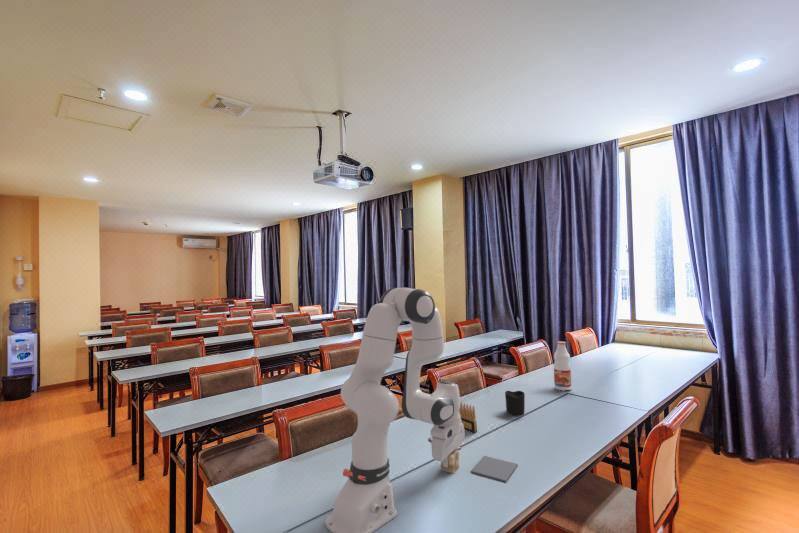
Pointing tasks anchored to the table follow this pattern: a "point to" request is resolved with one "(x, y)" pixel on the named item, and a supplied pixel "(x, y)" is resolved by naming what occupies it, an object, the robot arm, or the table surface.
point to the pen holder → (515, 402)
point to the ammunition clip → (468, 417)
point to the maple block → (452, 462)
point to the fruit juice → (562, 367)
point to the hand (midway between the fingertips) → (450, 462)
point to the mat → (494, 468)
